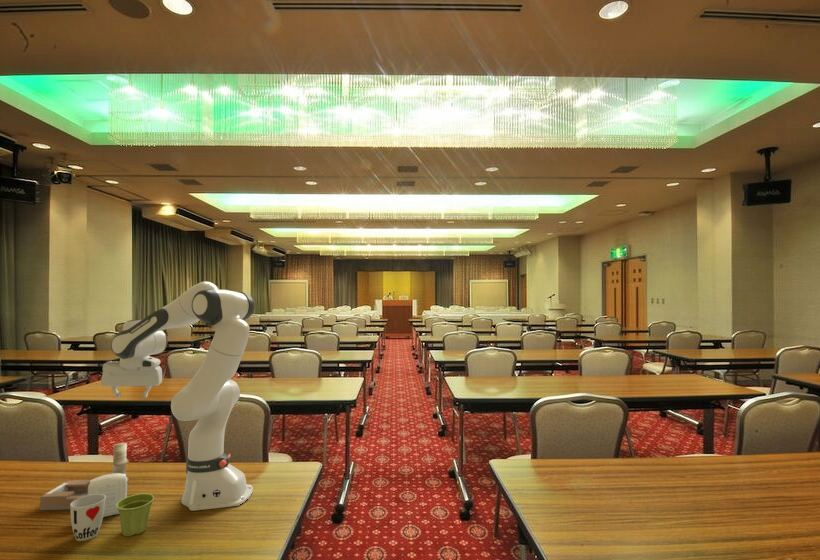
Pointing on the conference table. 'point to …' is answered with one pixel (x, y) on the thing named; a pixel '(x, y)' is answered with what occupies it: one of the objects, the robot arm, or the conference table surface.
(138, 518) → the plant pot
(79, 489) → the keyhole dock
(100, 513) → the cup
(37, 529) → the conference table surface
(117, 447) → the beige tall cylinder
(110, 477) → the photo printer
